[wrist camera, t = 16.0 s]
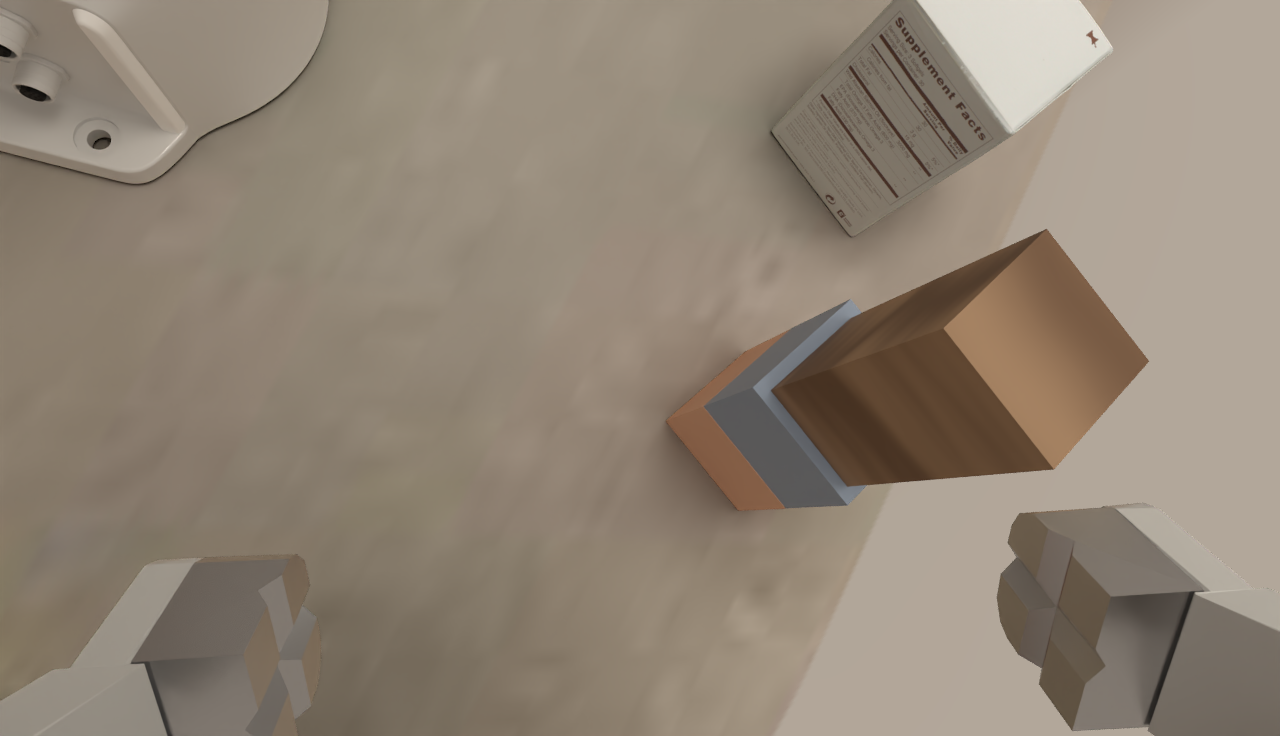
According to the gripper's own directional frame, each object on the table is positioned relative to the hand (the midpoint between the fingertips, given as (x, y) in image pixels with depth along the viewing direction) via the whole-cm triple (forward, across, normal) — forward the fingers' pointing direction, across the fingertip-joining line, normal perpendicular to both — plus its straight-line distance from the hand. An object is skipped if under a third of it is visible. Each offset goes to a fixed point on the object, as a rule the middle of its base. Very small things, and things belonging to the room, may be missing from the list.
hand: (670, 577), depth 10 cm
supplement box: (+37, -15, +2) cm, 40 cm away
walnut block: (+19, -9, +8) cm, 22 cm away
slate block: (+23, -8, +10) cm, 27 cm away
